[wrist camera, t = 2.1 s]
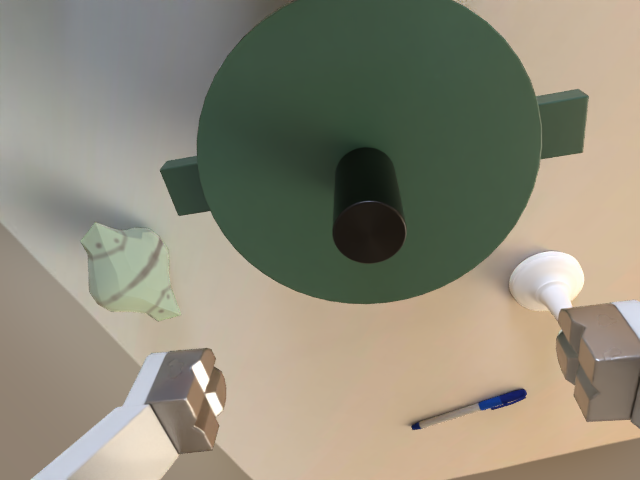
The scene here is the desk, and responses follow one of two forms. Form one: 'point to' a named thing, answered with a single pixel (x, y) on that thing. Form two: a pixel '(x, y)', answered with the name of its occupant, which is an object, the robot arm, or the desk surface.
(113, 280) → the robot head
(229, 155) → the pot lid
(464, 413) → the ballpoint pen
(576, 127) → the pot
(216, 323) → the desk surface
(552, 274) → the chess piece
